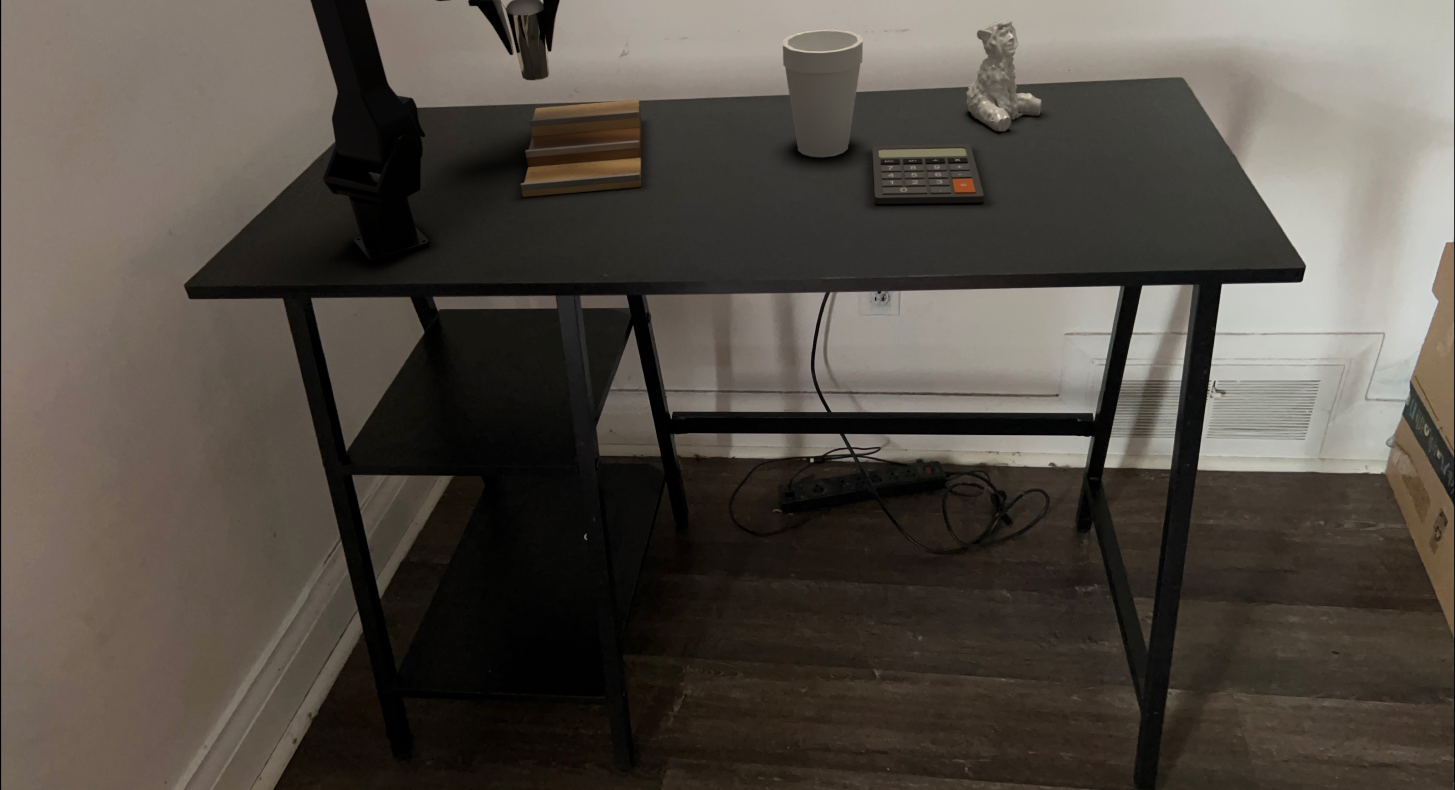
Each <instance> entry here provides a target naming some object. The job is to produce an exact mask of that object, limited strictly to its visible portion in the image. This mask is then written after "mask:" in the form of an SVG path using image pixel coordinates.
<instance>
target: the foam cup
mask: <svg viewBox="0 0 1455 790" xmlns="http://www.w3.org/2000/svg"><path fill="white" fill-rule="evenodd" d="M863 42H864V40H863V36H862V35H859V34H858V33H855V32H853V31H846V30H842V29H817V30H806V31H802V32H798V33H794V34H791V35H789V36H787V37H785V38H784V39H783V40H782V62H783V63H782V65H783V67H784V68H785V74H786V81H787V88H788V95H789V100H790V101H789V102H790V107H791V114H792V120H793V127H794V133H795V134H794V135H795V140H796V146H797V151H798V152H799V153H800V154H802V155H805V156H808V157H811V158H827V157H835V156H839V155H841V154H845V152H846V151H847V150H849V144H850V137H851V132H852V125H853V117H854V111H855V103H856V96H857V90H858V84H859V77H860V70H861V64H862V63H863V48H864V47H863V44H864V43H863Z"/></svg>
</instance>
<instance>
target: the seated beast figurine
mask: <svg viewBox="0 0 1455 790" xmlns="http://www.w3.org/2000/svg"><path fill="white" fill-rule="evenodd" d="M1016 30H1017V29H1016V27H1014V26H1013V21H1012V20H1008V19H1007V20H1006V19H1004V18H1002V19H1001V20H999V21H995V22H991V23H990V24H988V26H987V27H986V28H985V29H978V30H977V32H976V37H977V39H978V40H980V41H981V42H982V46H983V49H984V51H985V52H984V53H985V54H986V55H987V56H986V58H985V59H983V60H982V62H981V63H980V65H979V69H978V70H977V72H976V73H977V75H976V76H977V77H976V78H975V79H974V80H973V82H972V83H971V85H970V86H968V87H967V91H966V92H965V93H966V102H965V104H966V105H967V107H966V108H967V110H968V112H970V114H971V116H972V117H974V119H976V120H978V121H980V123H982V124H984V125H986V126H988V127H989V128H990V129H992V130H993V131H995V132H1004V133H1005V132H1006V131H1007V130H1008V129H1009V128H1010V127H1011V125H1012V120H1016V119H1018V118H1019V117H1022V116H1023V115H1024V116H1036V117H1038V116H1040V114H1041V111H1042V106H1043V100H1042V99H1040V98H1037V97H1035V96H1034V95H1032V93H1030V92H1027V93H1024V92H1019V93H1017V88H1018V87H1017V85H1016V79H1017V77H1016V72H1015V70H1016V67H1015V64H1014V63H1013V62H1014V60H1015V58H1014V56H1015V54H1016V49H1017V48H1018V46H1019V41H1018V36H1017V31H1016Z"/></svg>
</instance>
